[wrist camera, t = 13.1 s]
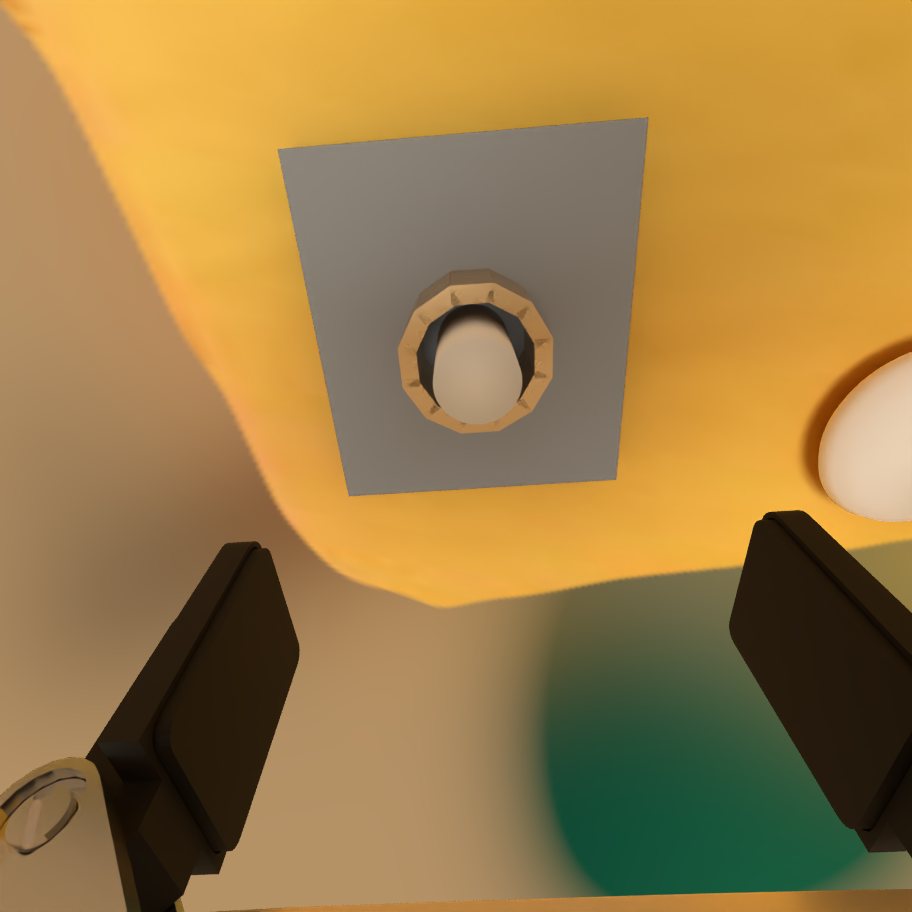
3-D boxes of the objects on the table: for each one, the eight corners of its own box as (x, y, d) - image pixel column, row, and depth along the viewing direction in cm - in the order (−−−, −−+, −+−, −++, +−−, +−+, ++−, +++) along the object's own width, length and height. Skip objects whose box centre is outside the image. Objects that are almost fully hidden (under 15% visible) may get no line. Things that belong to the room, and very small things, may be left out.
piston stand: (290, 151, 24) (215, 137, 16) (634, 122, 23) (717, 94, 16) (354, 479, 32) (324, 568, 25) (607, 463, 32) (653, 549, 24)
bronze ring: (399, 275, 25) (390, 290, 21) (539, 264, 24) (554, 277, 21) (414, 404, 28) (409, 436, 24) (539, 396, 28) (551, 427, 24)
